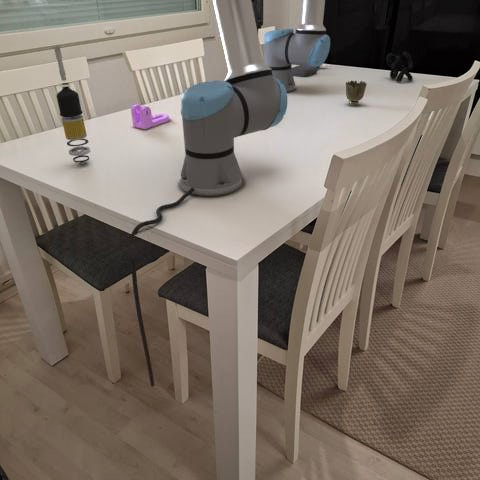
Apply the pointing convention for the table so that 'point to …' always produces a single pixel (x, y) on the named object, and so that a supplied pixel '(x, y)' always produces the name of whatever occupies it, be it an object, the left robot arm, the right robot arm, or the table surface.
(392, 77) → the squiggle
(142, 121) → the bracket
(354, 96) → the cup
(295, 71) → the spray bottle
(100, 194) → the table surface
